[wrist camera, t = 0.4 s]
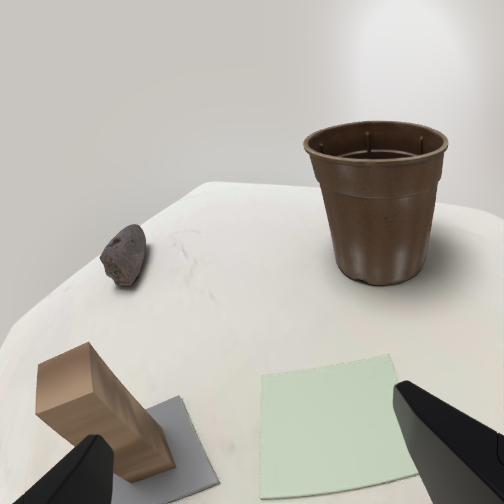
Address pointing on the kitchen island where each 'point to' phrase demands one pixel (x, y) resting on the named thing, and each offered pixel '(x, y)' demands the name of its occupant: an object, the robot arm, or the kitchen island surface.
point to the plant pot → (378, 194)
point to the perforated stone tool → (125, 255)
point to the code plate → (184, 455)
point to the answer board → (330, 430)
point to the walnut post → (100, 412)
